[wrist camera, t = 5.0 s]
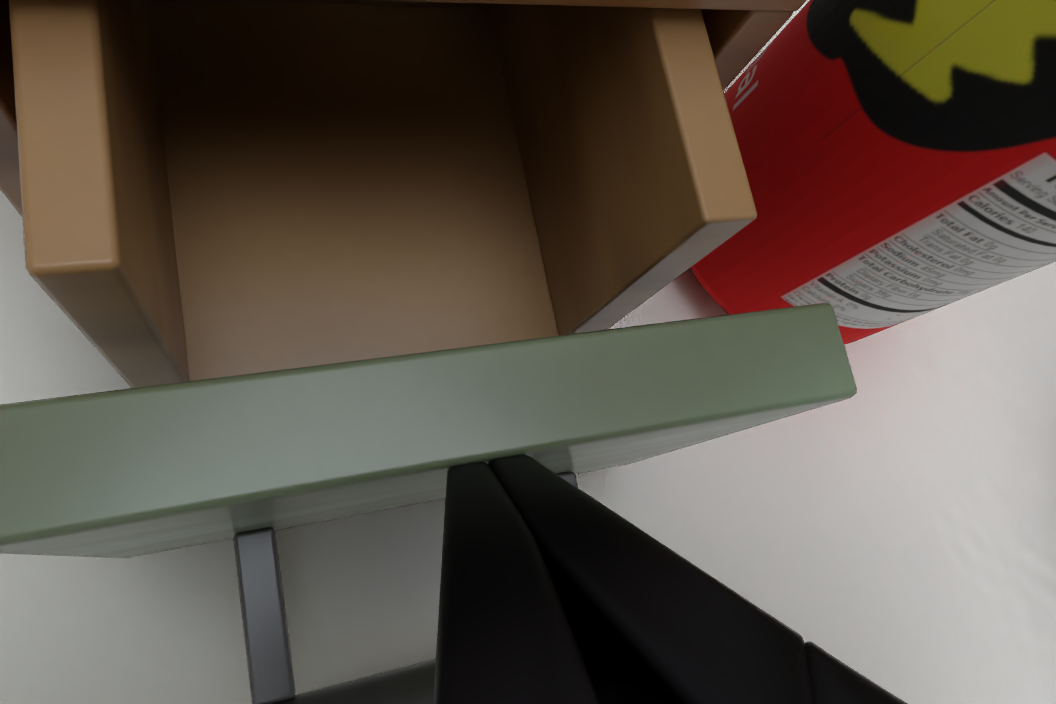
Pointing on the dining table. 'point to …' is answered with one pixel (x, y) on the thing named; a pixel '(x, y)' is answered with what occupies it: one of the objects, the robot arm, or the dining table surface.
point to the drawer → (369, 270)
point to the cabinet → (726, 3)
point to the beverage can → (893, 159)
